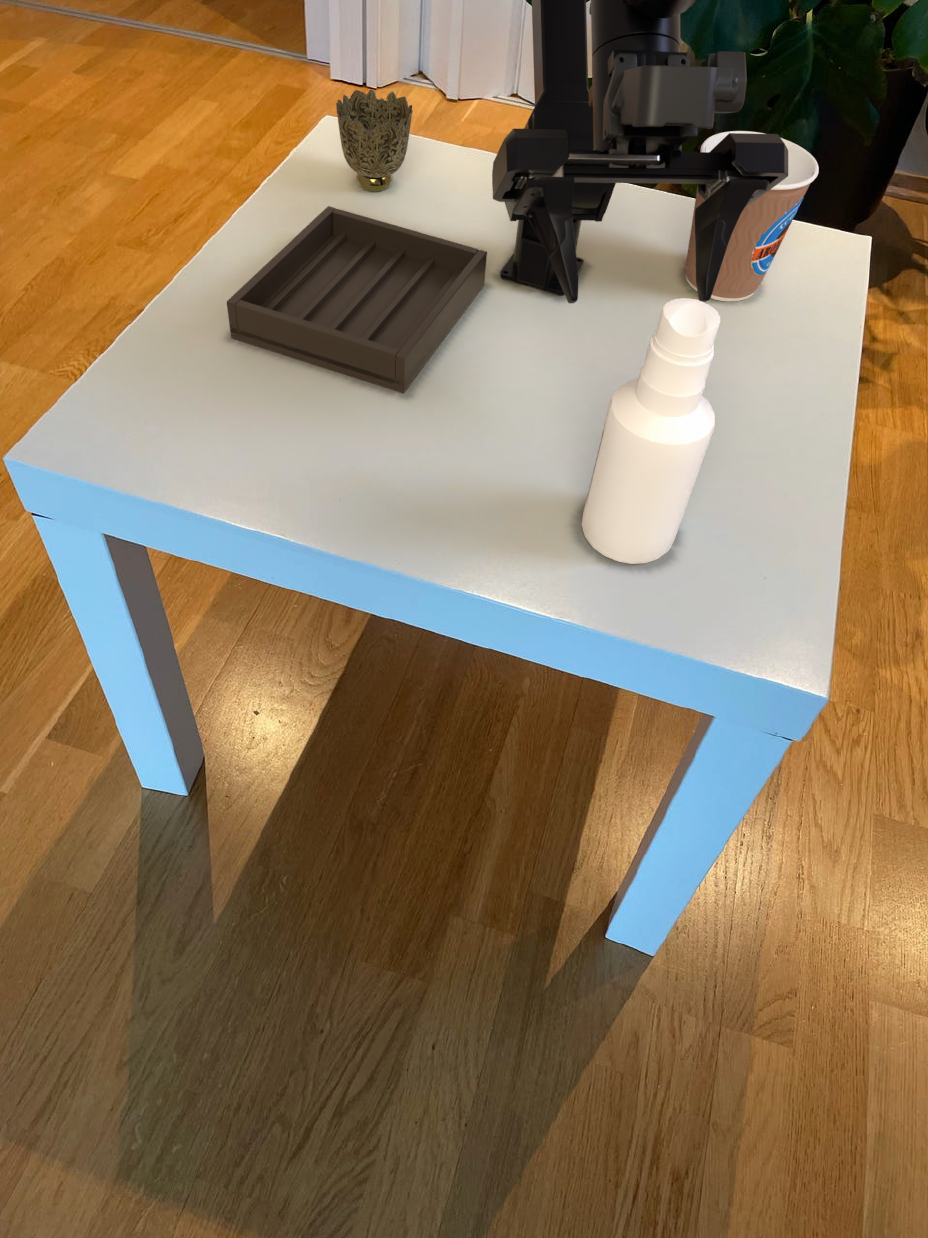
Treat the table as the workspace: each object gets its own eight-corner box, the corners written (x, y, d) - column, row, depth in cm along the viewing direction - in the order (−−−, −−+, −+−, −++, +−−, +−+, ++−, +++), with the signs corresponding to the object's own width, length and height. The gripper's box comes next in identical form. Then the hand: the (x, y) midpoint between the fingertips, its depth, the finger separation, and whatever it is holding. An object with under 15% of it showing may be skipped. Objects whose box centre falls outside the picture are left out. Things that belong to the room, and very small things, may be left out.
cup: (330, 196, 96) (327, 114, 90) (347, 163, 101) (346, 83, 94) (402, 208, 96) (404, 126, 89) (416, 174, 100) (419, 94, 94)
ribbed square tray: (329, 240, 91) (328, 205, 88) (484, 286, 88) (487, 251, 85) (231, 338, 80) (226, 301, 77) (403, 393, 77) (404, 357, 74)
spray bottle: (681, 514, 70) (757, 298, 56) (663, 577, 66) (741, 361, 52) (593, 489, 71) (646, 270, 57) (570, 549, 67) (621, 330, 53)
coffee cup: (753, 325, 87) (799, 198, 78) (651, 287, 90) (683, 161, 80) (787, 275, 93) (833, 152, 84) (690, 242, 96) (724, 119, 86)
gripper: (521, -20, 53) (529, 270, 54) (834, -6, 55) (832, 270, 57) (487, 73, 63) (494, 312, 65) (749, 81, 66) (750, 311, 68)
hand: (639, 301), depth 63 cm, fingers open, 9 cm apart
